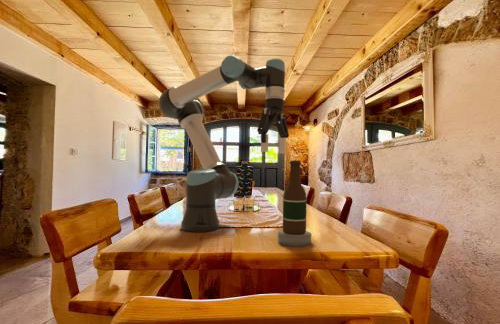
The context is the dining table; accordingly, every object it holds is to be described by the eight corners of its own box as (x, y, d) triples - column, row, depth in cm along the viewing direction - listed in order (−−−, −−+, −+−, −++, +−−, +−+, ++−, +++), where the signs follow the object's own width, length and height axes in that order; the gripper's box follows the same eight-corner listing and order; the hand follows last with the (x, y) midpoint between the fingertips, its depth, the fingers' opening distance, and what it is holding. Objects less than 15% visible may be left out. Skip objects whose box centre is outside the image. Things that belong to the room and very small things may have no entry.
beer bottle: (308, 235, 87) (309, 160, 88) (283, 235, 87) (284, 160, 88) (304, 229, 95) (304, 161, 95) (281, 229, 95) (282, 160, 96)
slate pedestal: (271, 242, 90) (271, 233, 90) (287, 236, 99) (287, 227, 99) (302, 249, 83) (302, 238, 83) (316, 241, 92) (316, 231, 92)
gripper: (265, 90, 97) (264, 150, 96) (297, 104, 117) (296, 153, 116) (248, 93, 101) (247, 151, 101) (282, 106, 121) (281, 154, 121)
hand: (273, 152), depth 109 cm, fingers open, 13 cm apart
